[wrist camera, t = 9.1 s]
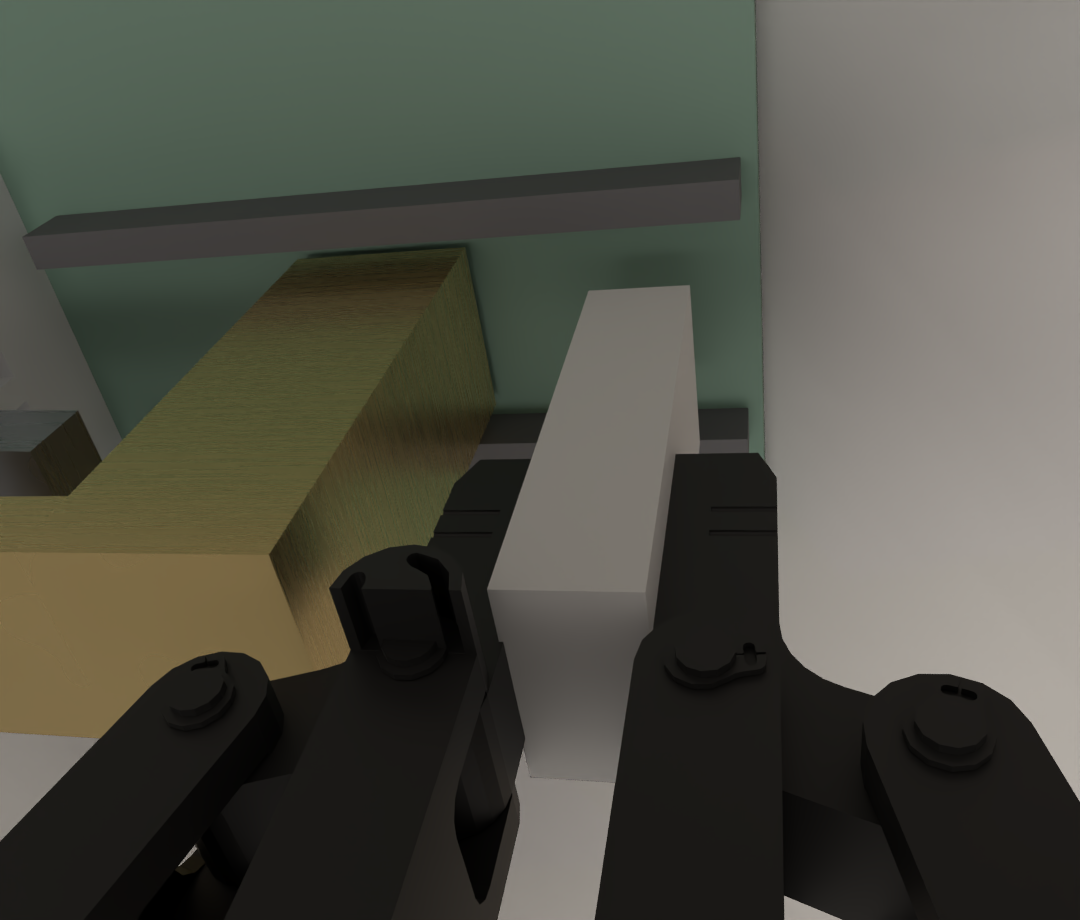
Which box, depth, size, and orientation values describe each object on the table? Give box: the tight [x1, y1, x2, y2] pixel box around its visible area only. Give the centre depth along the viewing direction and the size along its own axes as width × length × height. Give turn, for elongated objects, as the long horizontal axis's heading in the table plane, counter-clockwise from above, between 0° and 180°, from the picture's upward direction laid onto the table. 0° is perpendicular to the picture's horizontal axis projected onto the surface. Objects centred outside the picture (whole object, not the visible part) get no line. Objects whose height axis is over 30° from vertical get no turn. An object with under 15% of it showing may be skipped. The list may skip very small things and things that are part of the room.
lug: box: [0, 247, 496, 738], centre depth 14 cm, size 6×3×8 cm, turn 98°
